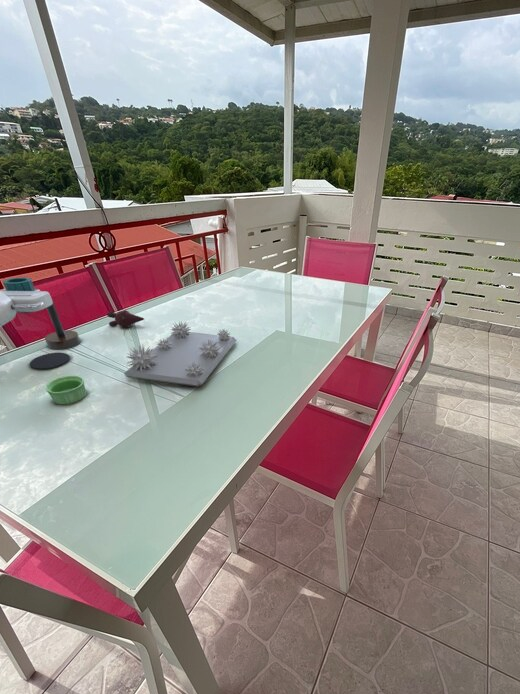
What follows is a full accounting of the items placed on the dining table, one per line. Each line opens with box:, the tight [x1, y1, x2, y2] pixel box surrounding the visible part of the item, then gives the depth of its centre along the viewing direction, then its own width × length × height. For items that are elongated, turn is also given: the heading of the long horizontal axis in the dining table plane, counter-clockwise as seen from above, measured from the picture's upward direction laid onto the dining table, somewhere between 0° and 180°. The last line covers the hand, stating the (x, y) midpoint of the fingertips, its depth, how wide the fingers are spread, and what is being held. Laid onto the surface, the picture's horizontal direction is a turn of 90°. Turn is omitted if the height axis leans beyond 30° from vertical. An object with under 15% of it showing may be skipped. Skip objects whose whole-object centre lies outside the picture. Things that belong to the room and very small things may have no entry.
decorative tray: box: [123, 320, 237, 388], centre depth 111 cm, size 35×26×10 cm
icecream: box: [106, 309, 145, 328], centre depth 133 cm, size 7×7×15 cm
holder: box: [44, 300, 81, 351], centre depth 115 cm, size 10×10×16 cm
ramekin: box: [45, 375, 87, 405], centre depth 92 cm, size 9×9×4 cm
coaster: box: [29, 352, 71, 371], centre depth 108 cm, size 11×11×1 cm
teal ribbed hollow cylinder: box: [2, 276, 37, 314], centre depth 96 cm, size 6×6×8 cm
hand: (23, 291), depth 96 cm, fingers closed on teal ribbed hollow cylinder, 6 cm apart
